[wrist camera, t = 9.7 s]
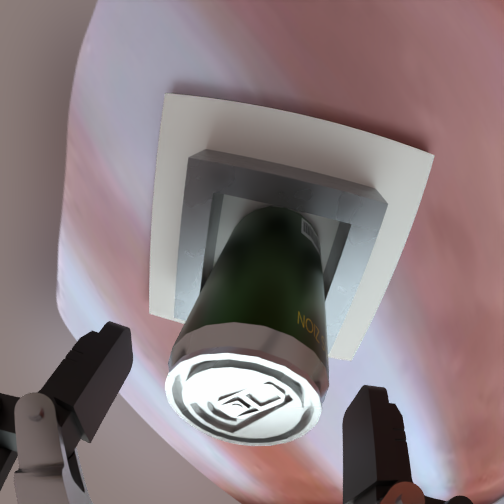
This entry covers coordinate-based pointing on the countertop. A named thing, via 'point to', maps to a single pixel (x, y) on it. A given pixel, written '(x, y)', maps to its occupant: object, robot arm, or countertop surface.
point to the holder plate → (235, 208)
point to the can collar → (284, 195)
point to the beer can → (256, 336)
